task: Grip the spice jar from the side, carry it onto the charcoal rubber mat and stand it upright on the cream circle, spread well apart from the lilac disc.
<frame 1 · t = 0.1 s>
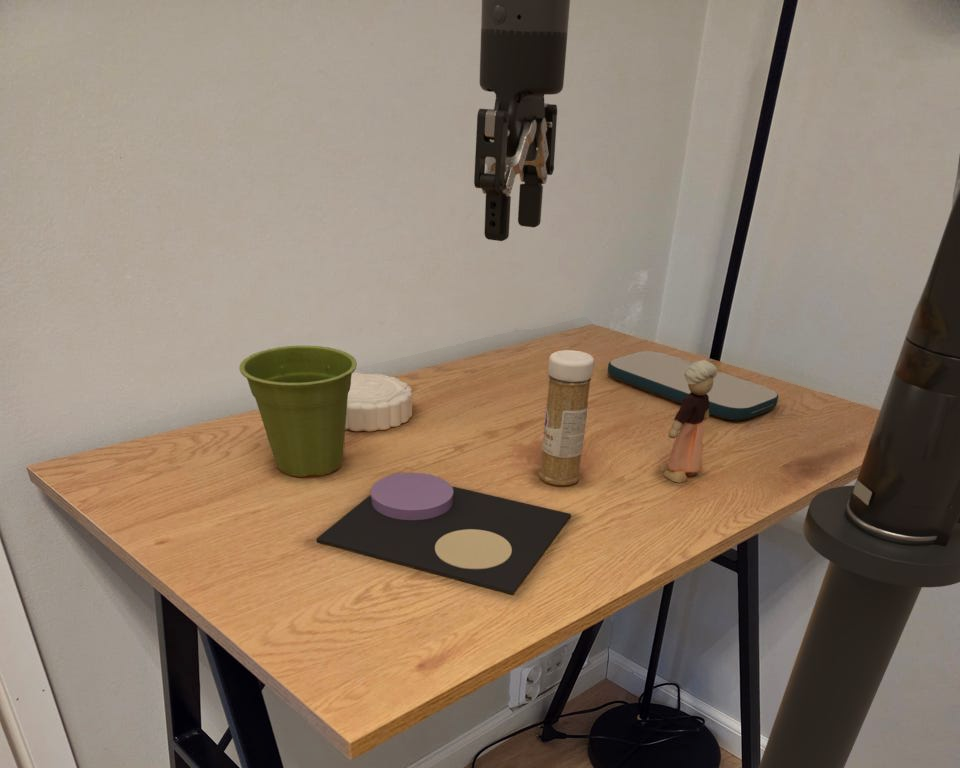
hand: (513, 232, 80), 24 cm above the table, tool pointing down, fingers open, 8 cm apart
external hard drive: (687, 392, 114), on the table
table mat: (448, 529, 80), on the table
lilac disc: (412, 500, 84), resting on table mat
spice jar: (559, 480, 90), on the table
mooncake: (365, 415, 103), on the table
grandmother figurine: (681, 474, 93), on the table
plant pot: (308, 466, 91), on the table
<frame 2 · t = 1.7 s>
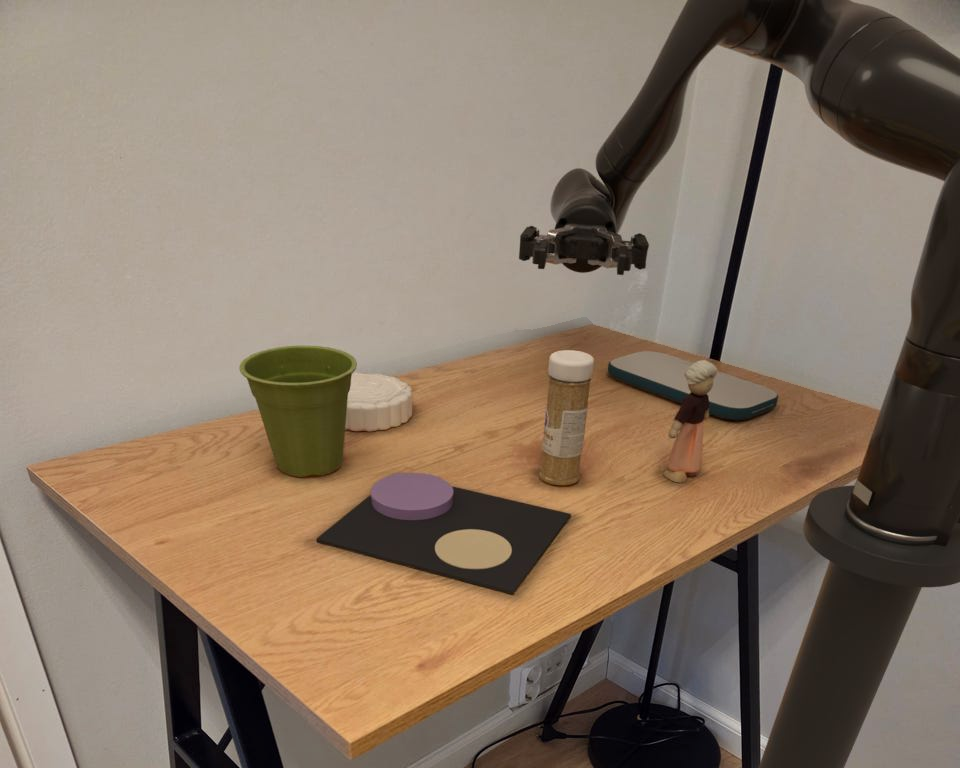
hand: (581, 261, 87), 20 cm above the table, tool horizontal, fingers open, 8 cm apart
nothing on the table moved.
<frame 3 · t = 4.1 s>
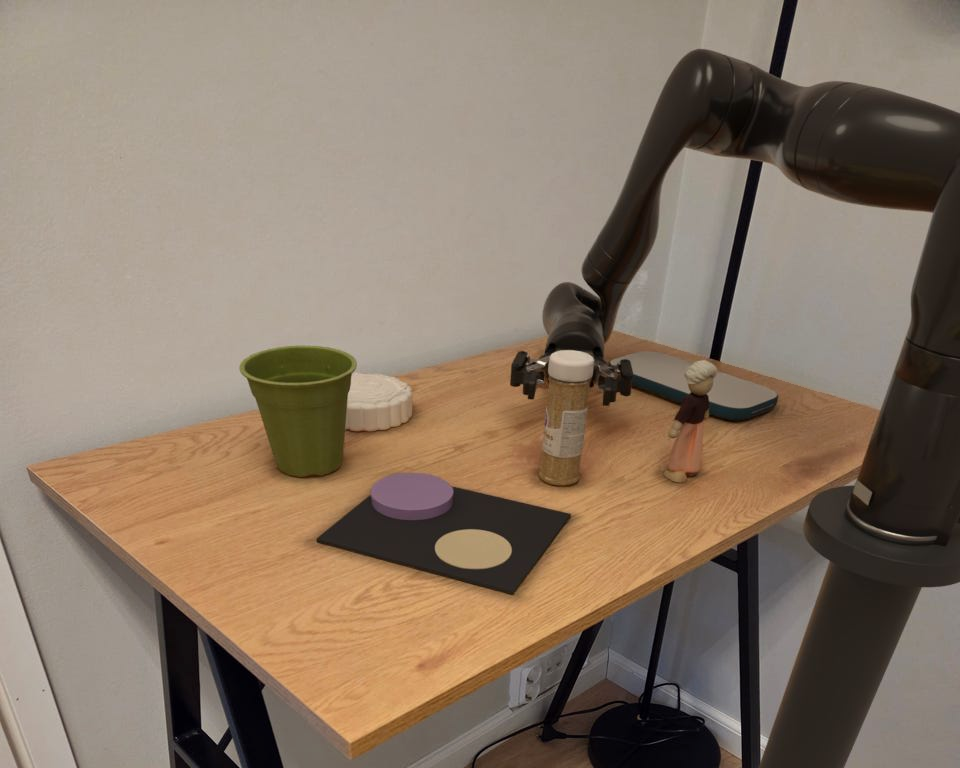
hand: (569, 394, 92), 7 cm above the table, tool horizontal, fingers open, 8 cm apart
nothing on the table moved.
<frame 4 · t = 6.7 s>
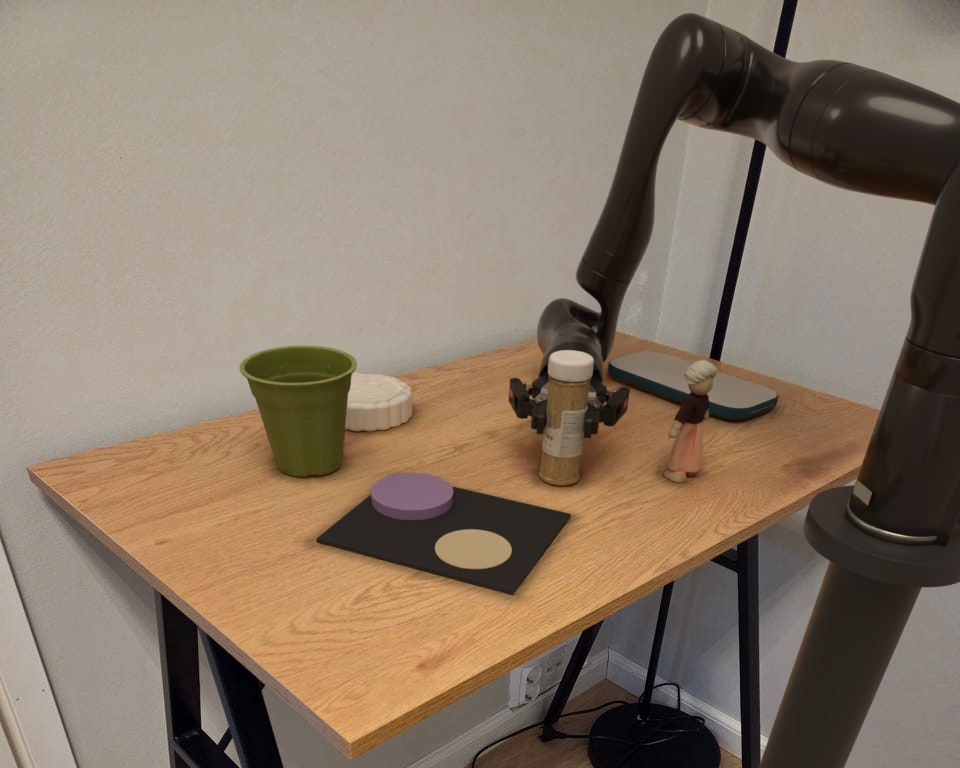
hand: (564, 427, 84), 7 cm above the table, tool horizontal, fingers closed on spice jar, 4 cm apart
spice jar: (559, 480, 90), on the table, touching gripper
everything else where it was.
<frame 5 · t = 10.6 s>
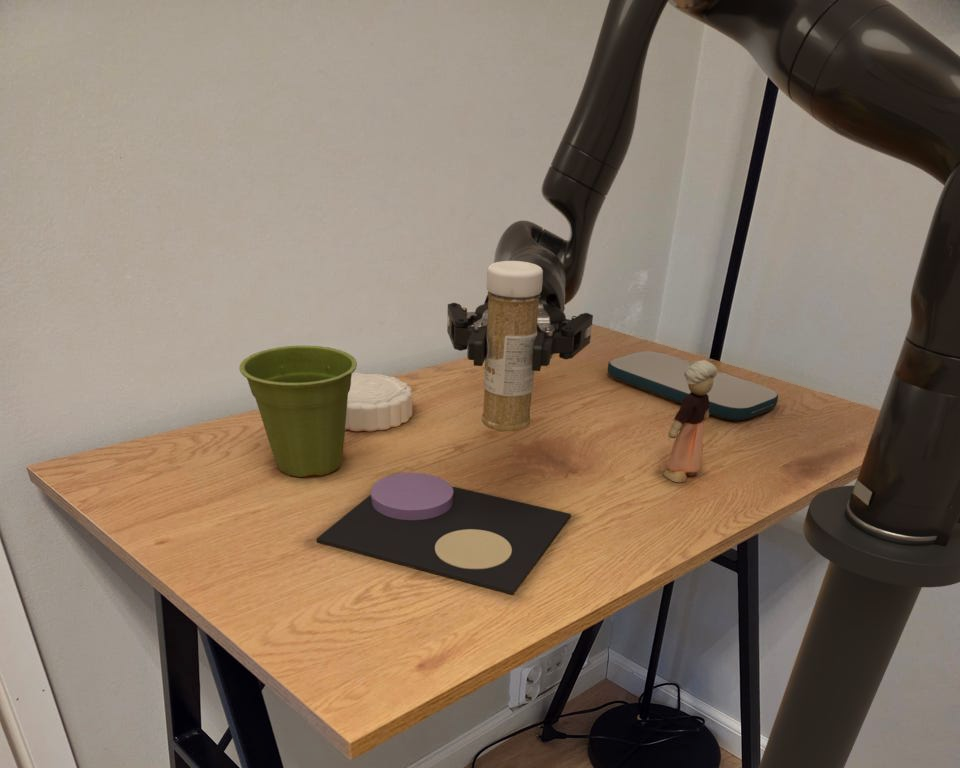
hand: (507, 356, 68), 18 cm above the table, tool horizontal, fingers closed on spice jar, 4 cm apart
spice jar: (506, 426, 74), point 10 cm above the table, touching gripper
everything else where it was.
when the fingers open (7 cm above the table, at t = 14.4 s): spice jar stays where it is, resting on table mat.
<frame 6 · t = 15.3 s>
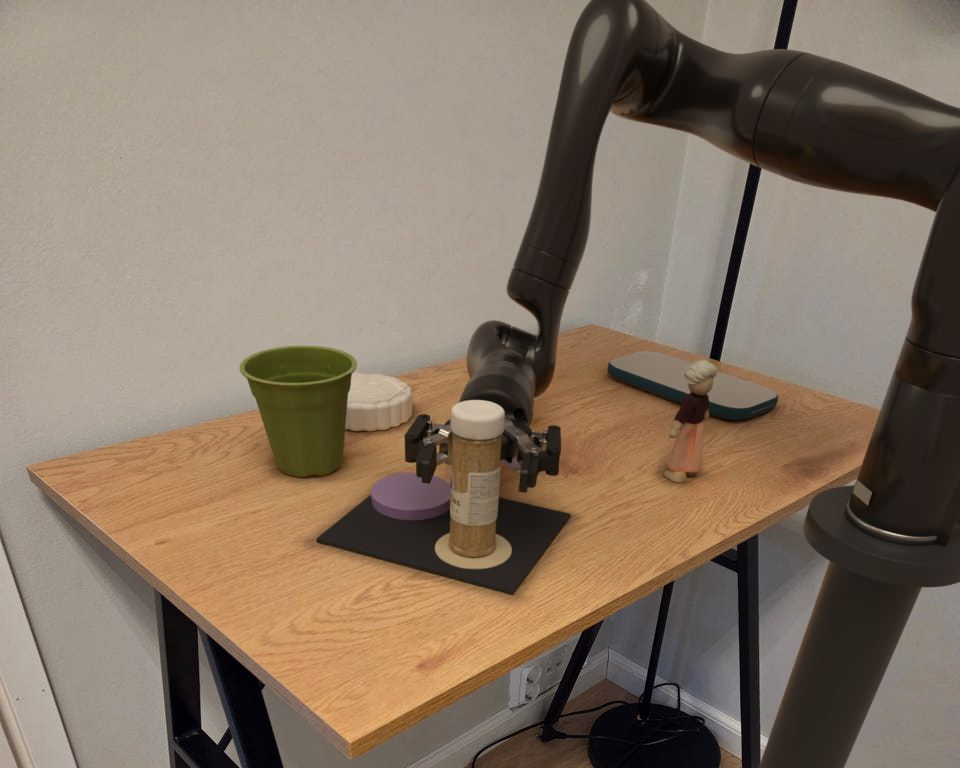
hand: (474, 478, 70), 8 cm above the table, tool horizontal, fingers open, 8 cm apart
spice jar: (472, 548, 77), resting on table mat
everything else where it was.
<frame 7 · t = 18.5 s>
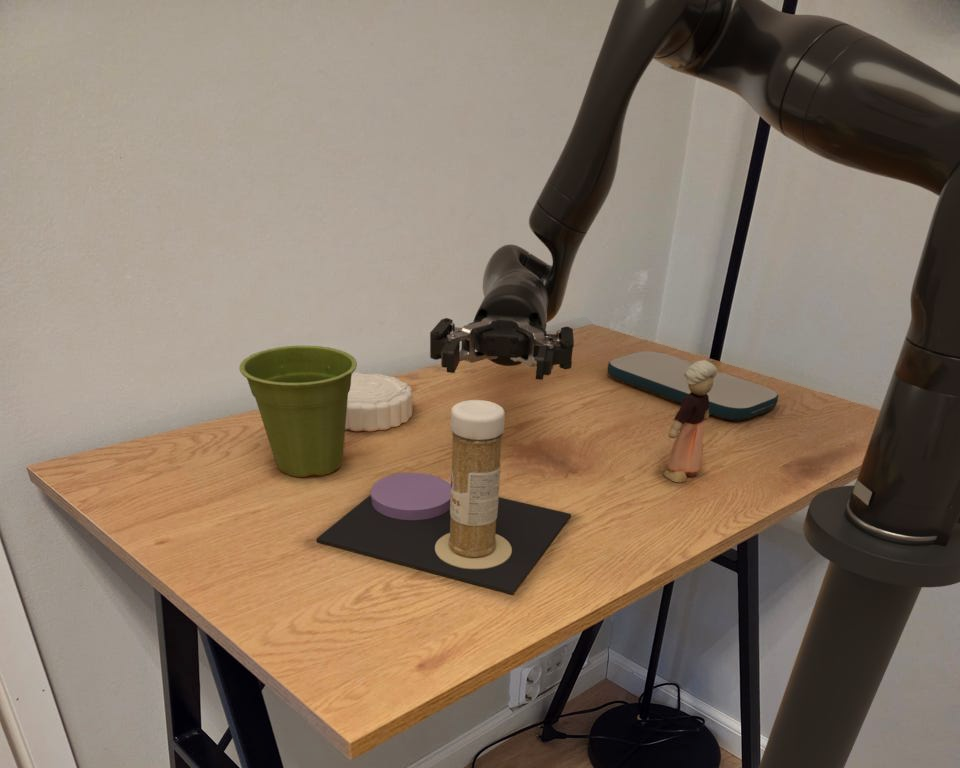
hand: (495, 365, 77), 14 cm above the table, tool horizontal, fingers open, 8 cm apart
nothing on the table moved.
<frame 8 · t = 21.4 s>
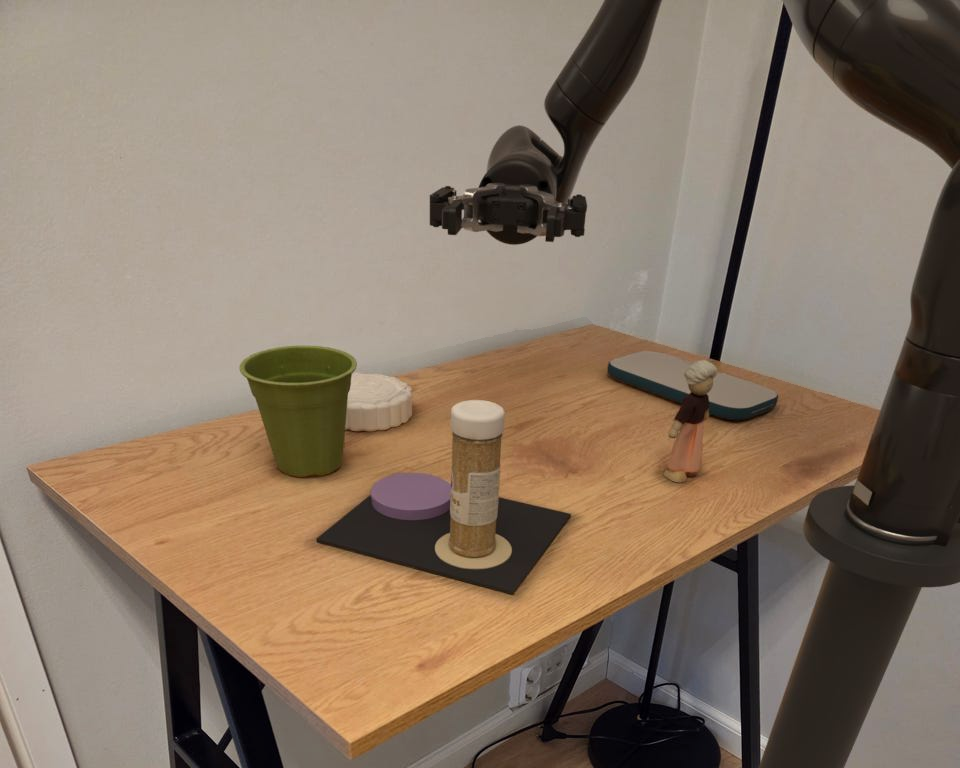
hand: (500, 225, 70), 26 cm above the table, tool horizontal, fingers open, 8 cm apart
nothing on the table moved.
at the end: spice jar 0.1 cm from the target spot, resting on table mat; spice jar tilted 0°; the gripper is holding nothing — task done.
